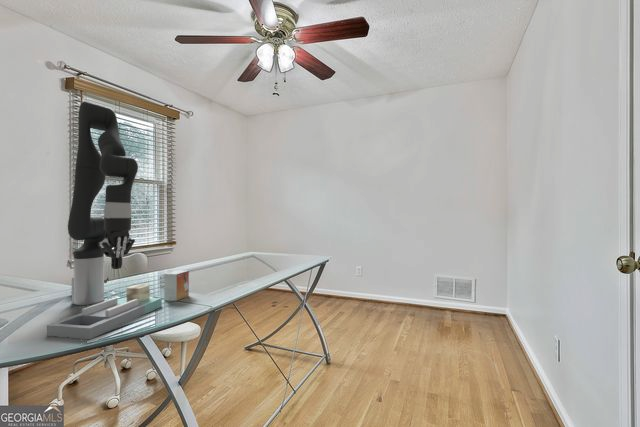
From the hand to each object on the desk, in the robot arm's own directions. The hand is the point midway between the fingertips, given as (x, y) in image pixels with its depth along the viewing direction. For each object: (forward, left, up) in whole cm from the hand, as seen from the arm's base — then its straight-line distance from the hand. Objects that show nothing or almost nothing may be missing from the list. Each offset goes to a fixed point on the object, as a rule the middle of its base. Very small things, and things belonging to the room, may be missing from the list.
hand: (116, 268), depth 101 cm
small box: (+6, +23, -16) cm, 28 cm away
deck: (0, -2, -16) cm, 16 cm away
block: (+1, +8, -13) cm, 15 cm away
